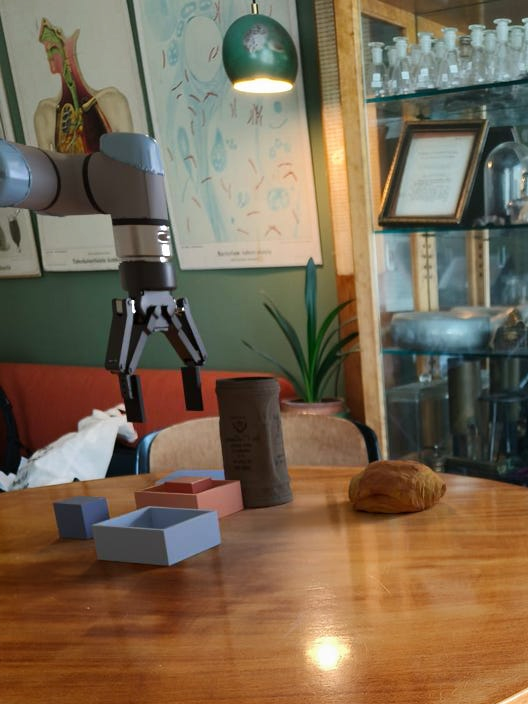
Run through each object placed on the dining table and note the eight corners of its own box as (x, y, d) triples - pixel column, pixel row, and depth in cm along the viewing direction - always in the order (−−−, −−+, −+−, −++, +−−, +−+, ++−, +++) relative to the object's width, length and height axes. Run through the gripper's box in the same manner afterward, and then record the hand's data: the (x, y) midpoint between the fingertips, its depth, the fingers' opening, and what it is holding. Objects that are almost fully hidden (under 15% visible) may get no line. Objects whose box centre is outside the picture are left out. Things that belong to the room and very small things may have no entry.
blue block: (59, 537, 126) (52, 502, 124) (84, 528, 130) (78, 495, 129) (87, 539, 124) (80, 504, 123) (112, 531, 129) (106, 497, 127)
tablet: (278, 474, 167) (277, 467, 167) (261, 488, 156) (260, 480, 155) (178, 476, 168) (177, 469, 168) (153, 489, 156) (152, 482, 156)
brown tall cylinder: (285, 508, 140) (274, 377, 134) (217, 509, 140) (204, 378, 134) (303, 494, 155) (294, 375, 149) (242, 495, 155) (230, 376, 149)
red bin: (138, 521, 134) (133, 491, 132) (184, 505, 144) (180, 477, 142) (200, 526, 130) (196, 495, 129) (243, 509, 140) (240, 480, 139)
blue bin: (97, 559, 115) (90, 525, 113) (153, 538, 124) (148, 506, 123) (169, 566, 111) (163, 530, 109) (221, 543, 121) (217, 510, 119)
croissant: (373, 506, 150) (364, 458, 148) (457, 497, 144) (450, 448, 142) (332, 523, 137) (322, 472, 135) (423, 515, 131) (414, 461, 129)
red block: (168, 514, 136) (163, 481, 134) (189, 507, 140) (184, 475, 138) (196, 516, 134) (191, 483, 132) (215, 508, 138) (211, 477, 136)
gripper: (105, 257, 111) (131, 428, 119) (220, 262, 133) (236, 407, 141) (58, 258, 113) (86, 426, 121) (179, 263, 135) (196, 405, 143)
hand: (167, 416), depth 131 cm, fingers open, 13 cm apart
